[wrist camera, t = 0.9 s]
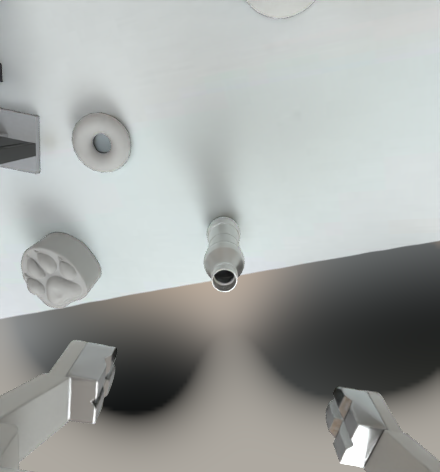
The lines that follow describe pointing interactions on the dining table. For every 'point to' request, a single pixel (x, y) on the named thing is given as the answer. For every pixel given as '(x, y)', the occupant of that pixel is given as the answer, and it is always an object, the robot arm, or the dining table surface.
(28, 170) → the monitor
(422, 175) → the dining table surface
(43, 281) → the lumpy-topped squat cylinder
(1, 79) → the headphones
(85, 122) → the donut
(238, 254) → the plastic bottle
